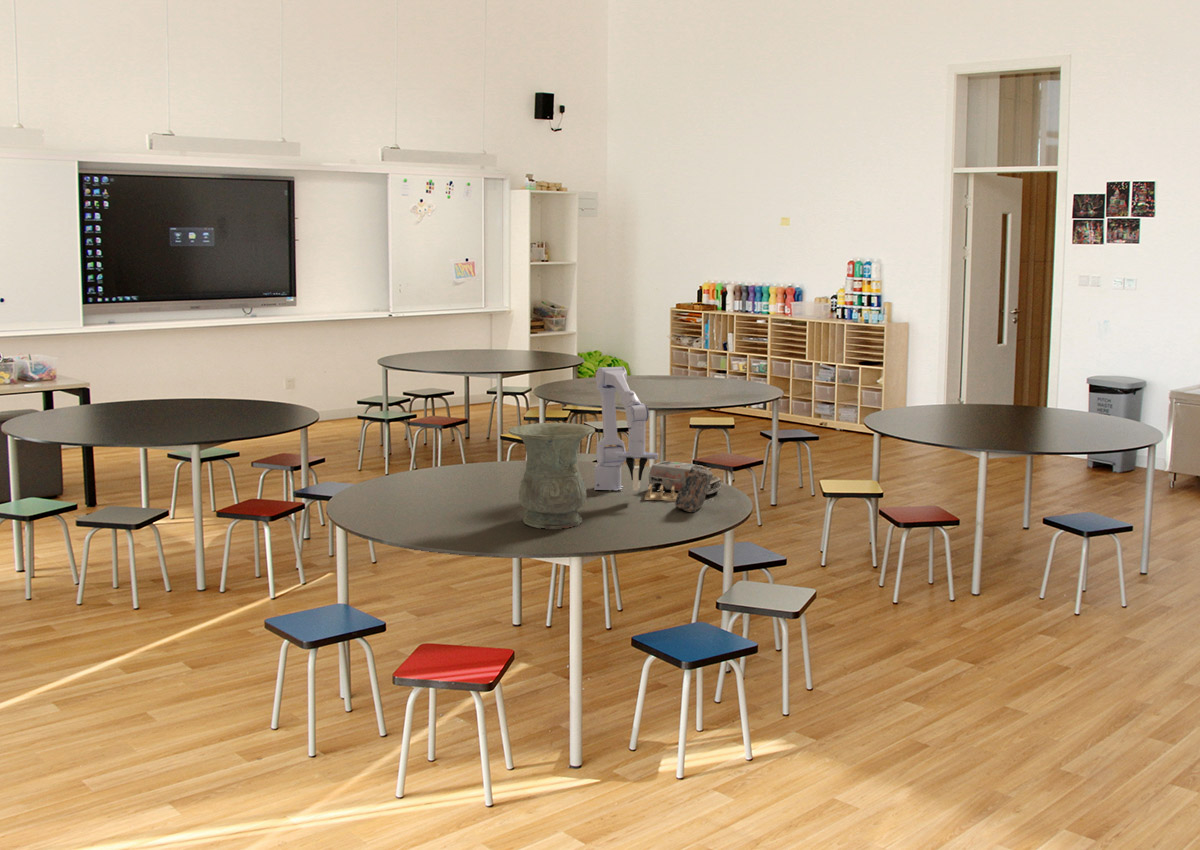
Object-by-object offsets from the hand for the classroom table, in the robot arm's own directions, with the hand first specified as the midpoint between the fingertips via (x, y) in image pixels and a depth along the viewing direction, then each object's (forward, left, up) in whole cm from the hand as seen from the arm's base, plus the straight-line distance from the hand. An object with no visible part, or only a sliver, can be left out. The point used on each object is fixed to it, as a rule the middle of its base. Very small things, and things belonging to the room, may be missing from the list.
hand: (636, 479), depth 381 cm
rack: (+8, +8, -8) cm, 14 cm away
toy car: (+15, +19, -8) cm, 26 cm away
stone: (+19, -7, -8) cm, 22 cm away
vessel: (-24, -31, -8) cm, 40 cm away
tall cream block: (0, 0, -3) cm, 3 cm away
